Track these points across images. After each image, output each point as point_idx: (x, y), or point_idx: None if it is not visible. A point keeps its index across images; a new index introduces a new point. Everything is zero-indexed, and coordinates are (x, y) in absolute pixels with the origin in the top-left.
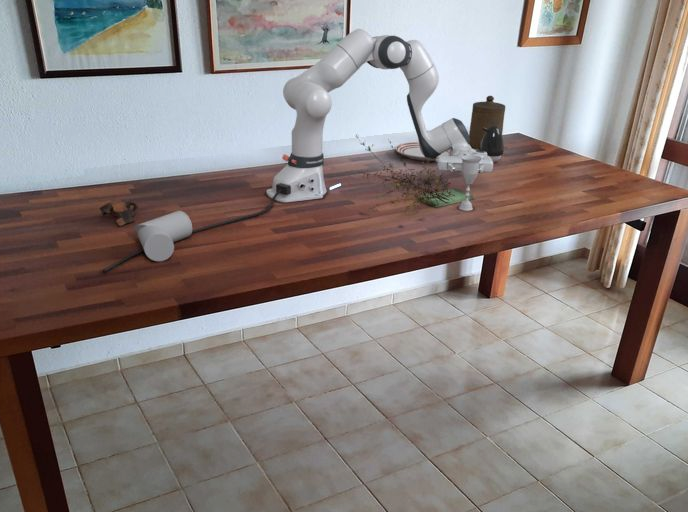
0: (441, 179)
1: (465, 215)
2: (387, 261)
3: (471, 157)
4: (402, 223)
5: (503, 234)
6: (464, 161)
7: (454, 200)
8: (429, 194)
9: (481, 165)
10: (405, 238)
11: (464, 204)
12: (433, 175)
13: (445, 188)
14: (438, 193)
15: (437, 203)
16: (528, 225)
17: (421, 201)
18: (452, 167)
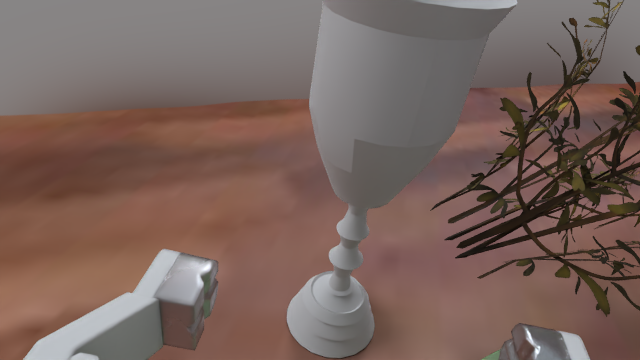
0: (564, 81)
1: None
2: (555, 87)
3: (397, 23)
4: (608, 211)
5: (262, 110)
6: (470, 3)
7: (432, 209)
8: (588, 208)
9: (81, 355)
10: None
11: (352, 278)
12: (628, 80)
13: (515, 153)
14: (540, 191)
15: None
16: (126, 133)
17: (597, 185)
18: (568, 334)
